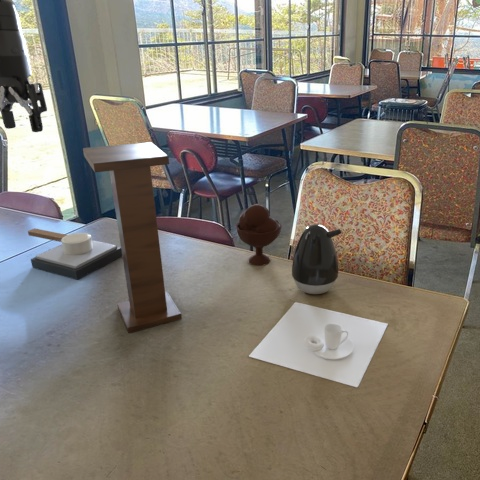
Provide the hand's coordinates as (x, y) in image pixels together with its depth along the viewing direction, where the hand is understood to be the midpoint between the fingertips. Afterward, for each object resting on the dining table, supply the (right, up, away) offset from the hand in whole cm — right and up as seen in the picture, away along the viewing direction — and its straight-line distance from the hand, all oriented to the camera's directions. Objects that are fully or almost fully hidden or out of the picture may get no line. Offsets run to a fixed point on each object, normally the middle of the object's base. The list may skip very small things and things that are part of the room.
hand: (23, 129), depth 108 cm
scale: (+9, -30, +7) cm, 32 cm away
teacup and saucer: (+67, -44, -19) cm, 83 cm away
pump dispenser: (+66, -36, -2) cm, 75 cm away
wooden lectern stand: (+32, -39, -12) cm, 52 cm away
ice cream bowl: (+52, -30, +10) cm, 61 cm away
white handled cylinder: (+4, -26, +8) cm, 28 cm away
